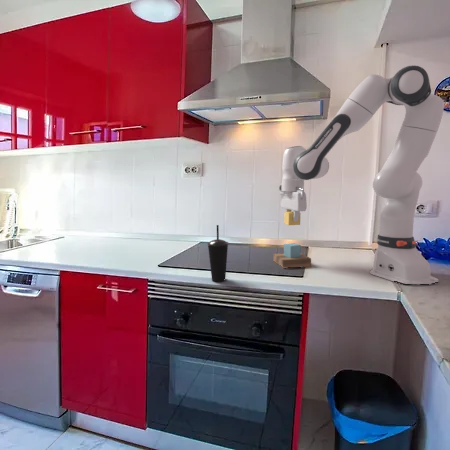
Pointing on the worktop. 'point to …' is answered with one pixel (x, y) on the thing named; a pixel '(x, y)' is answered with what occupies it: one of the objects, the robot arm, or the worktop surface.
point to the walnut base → (292, 260)
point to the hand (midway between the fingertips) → (292, 220)
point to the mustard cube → (290, 218)
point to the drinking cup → (218, 258)
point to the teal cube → (292, 250)
